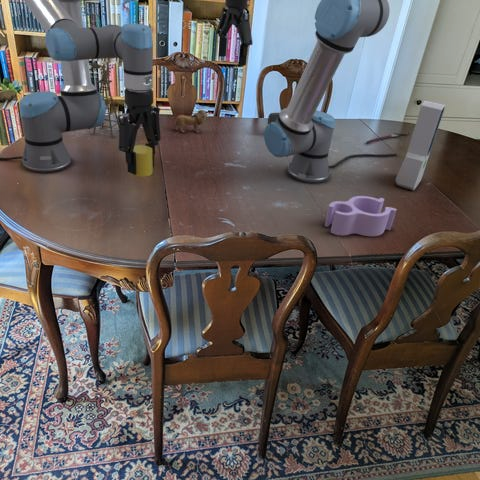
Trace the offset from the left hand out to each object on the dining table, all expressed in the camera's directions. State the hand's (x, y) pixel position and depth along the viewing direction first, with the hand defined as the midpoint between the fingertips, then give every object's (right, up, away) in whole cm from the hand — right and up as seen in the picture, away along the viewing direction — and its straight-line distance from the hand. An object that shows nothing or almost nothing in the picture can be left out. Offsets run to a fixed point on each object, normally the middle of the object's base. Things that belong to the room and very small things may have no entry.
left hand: (141, 169), depth 135 cm
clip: (+64, -16, +8) cm, 67 cm away
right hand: (+26, +44, +32) cm, 60 cm away
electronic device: (+91, 0, +39) cm, 99 cm away
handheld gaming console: (+51, +25, +70) cm, 91 cm away
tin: (0, -1, +1) cm, 1 cm away
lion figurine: (+7, +26, +64) cm, 69 cm away
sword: (+96, +25, +78) cm, 126 cm away
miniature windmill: (-25, +23, +53) cm, 63 cm away
